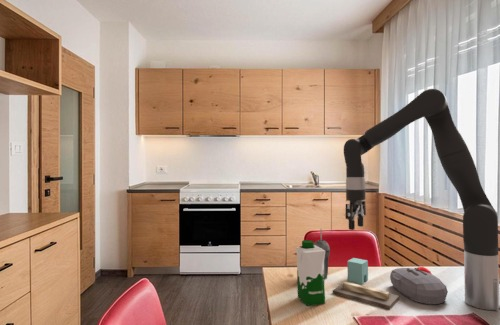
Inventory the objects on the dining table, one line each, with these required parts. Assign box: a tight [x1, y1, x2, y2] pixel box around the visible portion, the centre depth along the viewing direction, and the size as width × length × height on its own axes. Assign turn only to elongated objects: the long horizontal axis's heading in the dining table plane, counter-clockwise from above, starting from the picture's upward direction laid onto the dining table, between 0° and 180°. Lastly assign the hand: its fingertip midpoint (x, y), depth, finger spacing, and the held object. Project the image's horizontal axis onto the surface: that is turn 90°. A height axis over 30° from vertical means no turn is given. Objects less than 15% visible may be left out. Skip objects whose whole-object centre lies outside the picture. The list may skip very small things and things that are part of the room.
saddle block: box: [346, 257, 369, 286], centre depth 129 cm, size 6×6×8 cm
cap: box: [416, 266, 432, 274], centre depth 128 cm, size 8×6×6 cm
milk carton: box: [295, 239, 326, 307], centre depth 112 cm, size 9×9×20 cm
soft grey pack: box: [389, 267, 448, 305], centre depth 116 cm, size 15×8×20 cm
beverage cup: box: [314, 228, 331, 281], centre depth 133 cm, size 7×7×20 cm
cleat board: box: [332, 281, 400, 310], centre depth 114 cm, size 20×10×3 cm, turn 49°
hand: (356, 227), depth 131 cm, fingers open, 8 cm apart
